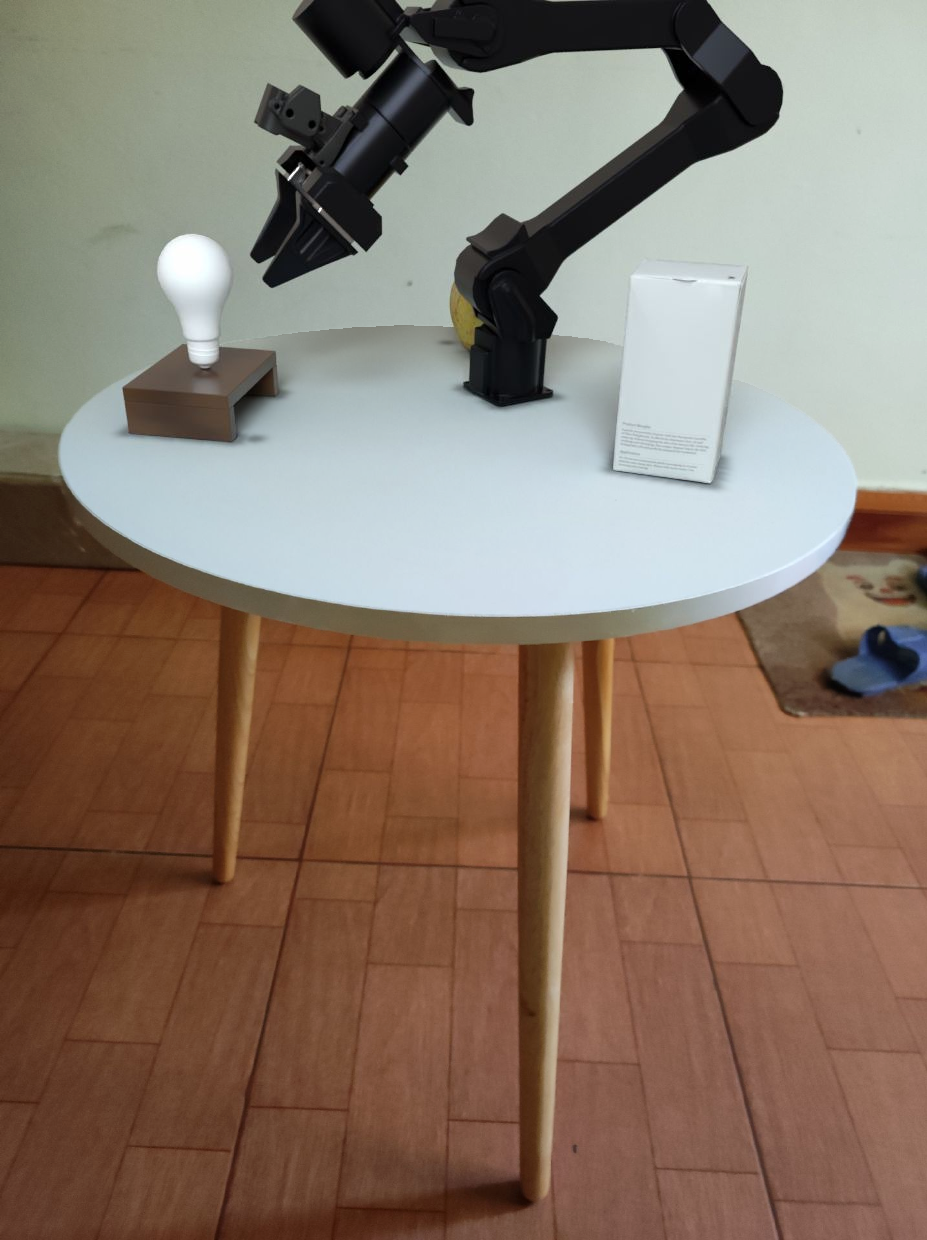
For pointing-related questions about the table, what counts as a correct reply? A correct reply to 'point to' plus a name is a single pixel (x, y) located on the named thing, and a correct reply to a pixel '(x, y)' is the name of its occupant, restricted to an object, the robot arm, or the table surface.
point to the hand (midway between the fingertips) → (259, 271)
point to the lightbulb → (197, 291)
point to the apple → (463, 317)
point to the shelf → (197, 393)
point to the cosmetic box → (677, 367)
